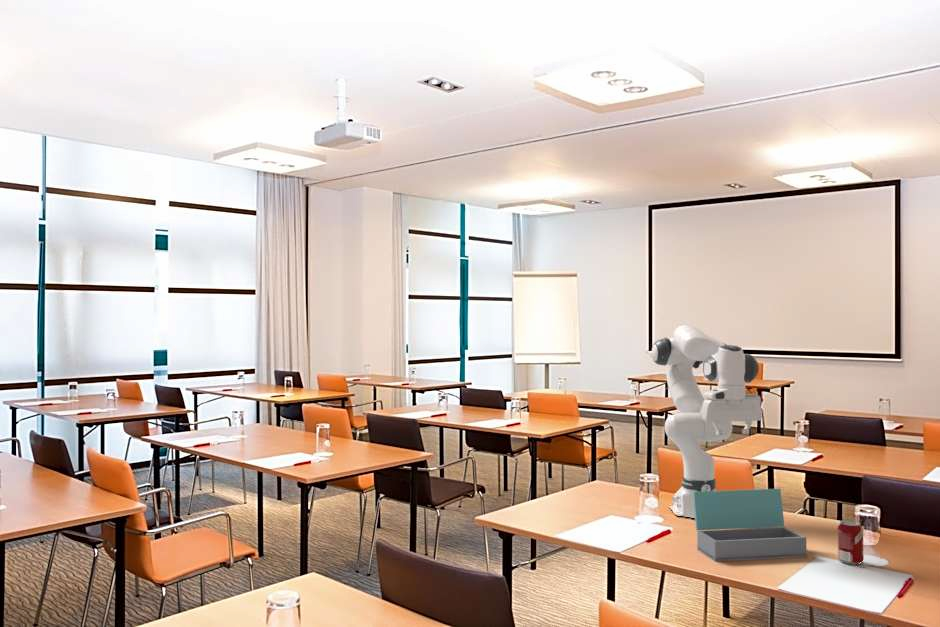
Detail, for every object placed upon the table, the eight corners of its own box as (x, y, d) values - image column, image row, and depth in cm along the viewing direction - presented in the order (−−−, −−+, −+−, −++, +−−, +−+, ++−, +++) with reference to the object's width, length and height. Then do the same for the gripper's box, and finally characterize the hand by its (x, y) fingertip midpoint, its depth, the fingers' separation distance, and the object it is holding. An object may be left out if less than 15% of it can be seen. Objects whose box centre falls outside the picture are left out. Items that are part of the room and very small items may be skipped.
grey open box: (697, 549, 235) (697, 531, 235) (784, 545, 239) (784, 527, 239) (715, 561, 223) (714, 541, 223) (806, 556, 227) (806, 537, 228)
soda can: (850, 566, 218) (849, 526, 218) (833, 560, 224) (832, 520, 224) (868, 564, 219) (868, 524, 220) (851, 558, 226) (850, 518, 226)
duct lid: (697, 530, 235) (696, 530, 236) (784, 526, 239) (782, 526, 240) (694, 491, 238) (692, 491, 239) (780, 488, 242) (778, 488, 243)
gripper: (755, 392, 253) (756, 432, 252) (699, 393, 250) (699, 434, 249) (765, 393, 247) (766, 435, 246) (707, 394, 244) (708, 436, 243)
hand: (732, 434), depth 248 cm, fingers open, 8 cm apart
